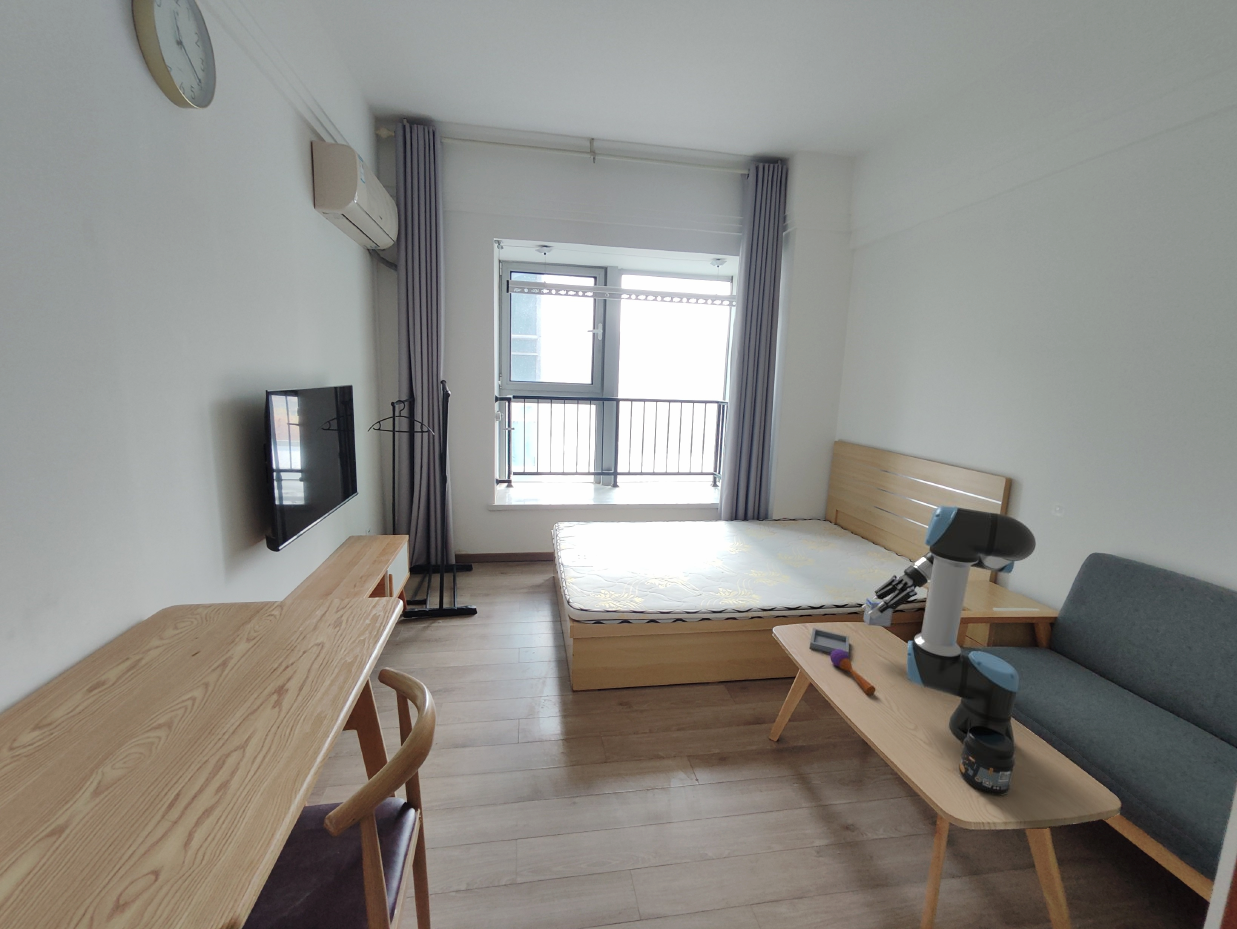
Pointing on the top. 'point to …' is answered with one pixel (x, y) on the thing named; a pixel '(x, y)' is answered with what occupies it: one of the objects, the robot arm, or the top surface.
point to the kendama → (850, 669)
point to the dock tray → (828, 641)
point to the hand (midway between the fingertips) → (867, 612)
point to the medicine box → (880, 620)
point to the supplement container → (987, 760)
